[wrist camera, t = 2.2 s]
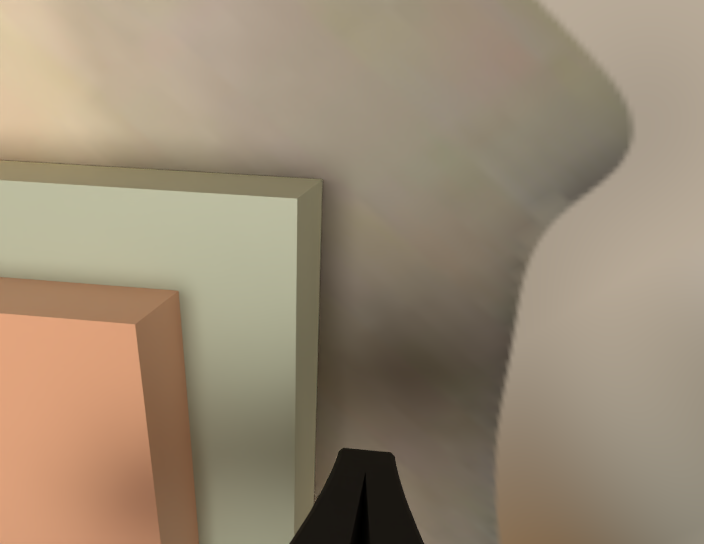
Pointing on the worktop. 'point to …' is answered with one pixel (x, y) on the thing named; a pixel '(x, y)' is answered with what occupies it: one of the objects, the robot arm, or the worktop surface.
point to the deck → (201, 311)
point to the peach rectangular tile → (93, 416)
